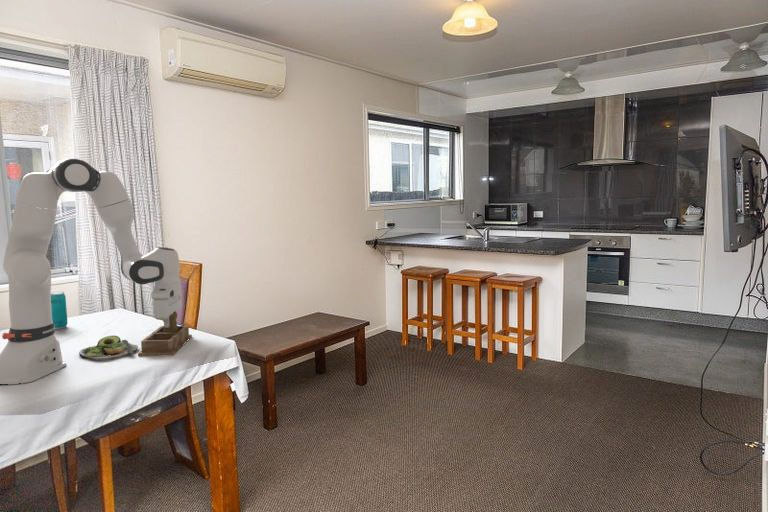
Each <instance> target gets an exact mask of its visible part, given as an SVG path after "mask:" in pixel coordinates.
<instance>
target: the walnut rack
mask: <svg viewBox="0 0 768 512" xmlns="http://www.w3.org/2000/svg"><path fill="white" fill-rule="evenodd" d="M177 327H178V332H173V333H163V330H164V325H160V326H159V327H158V328H157V329H156V330H154V331H153V332H151V333H150V334H148V336H146V337H145V338H144V339H141V340H140V345H141V350H140V351H139V352H138V353H137V356H138V357H154V356H155V357H156V356H157V357H159V356H161V357H162V355H172V356H175V355H176V354H177V352H179V351H180V349H181V348H182V347H183V346H184V345H185V344H186V343H187V342H188V341H189V340H190V338H191V337H193V335H192V334H190V331H189V327H190V326H189V325H177ZM188 339H189V340H188ZM187 340H188V341H187ZM186 341H187V342H186ZM185 342H186V343H185ZM184 343H185V344H184ZM183 344H184V345H183ZM182 345H183V346H182ZM181 346H182V347H181Z"/></svg>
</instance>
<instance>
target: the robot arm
mask: <svg viewBox="0 0 768 512" xmlns="http://www.w3.org/2000/svg"><path fill="white" fill-rule="evenodd" d="M64 192H65V193H66V192H68V193H78V192H84V193H86V194H88V195H89V197H90V198H91V200H92V201H93V204H94V208H95V209H96V211H97V213H98V215H99V217H100V219H101V221H102V223H104V225H105V226H106V228H107V229H108V231H109V232H110V233H111V235H112V237H113V240H114V242H115V245H116V247H117V250H118V252H119V255H120V261H121V262H120V270H121V275H122V276H123V277H124V278H126V279H127V280H129V281H131V282H133V283H135V284H137V285H146V284H151V283H154V285H155V286H154V289H153V291H152V292H151V299H152V308H153V315H154V319H155V320H160V321H161V320H162V322H163V326H164V327H165V328H168V327H170V322H169V316H170V315H171V314H173V312H175V311H176V312H177V311H178V310H180V309H181V308H183V298H182V297H183V295H182V288H181V287H182V286H181V285H182V284H181V277H180V269H181V268H180V267H181V266H180V257H179V254H178V251H177V250H176V249H174V248H171V247H165V246H164V247H163V246H158V247H155V248H154V249H153V250H152V251H151V252H149V253H147V254H144V255H143V254H142V253H141V252H140V251H139V250H140V249H139V248H138V245H137V243H136V240H135V237H134V235H133V232H132V226H133V225H132V224H133V222H134V220H135V217H136V216H135V211H134V207H133V203H132V202H131V201H132V200H131V198H130V196H129V194H128V192H127V190H126V188H125V186H124V184H123V183H122V180H121V179H120V177H118V175H117V174H116V173H114V172H111V171H107V170H106V171H105V170H104V171H98V170H97V169H96V168H94V167H93V166H92V165H91V164H90V163H88V162H86V161H85V160H83V159H80V158H76V157H75V158H74V157H67V158H62V159H60V160H58V161H57V162H55V163H54V164H53V165H52V166H51V167H50V168H49V169H48V170H47V171H46V172H45V173H44V172H39V171H38V172H36V171H35V172H31V173H27V174H25V175H24V176H23V177H22V180H21V182H20V185H19V186H18V191H17V193H16V198H15V204H14V208H13V214H12V219H11V220H12V221H11V226H10V230H9V231H10V232H9V235H8V239H7V244H6V246H5V247H6V249H5V251H4V252H5V253H4V258H3V260H2V268H3V271H4V273H5V274H6V275H7V278H8V310H9V318H10V319H9V320H10V327H9V331H8V332H3V333H2V335H1V338H2V339H3V340H7V343H6V345H5V346H4V348H3V349H2V350H1V352H0V384H8V385H19V383H21V384H26V383H31V382H32V383H33V382H34V381H36V380H39V379H41V378H42V377H45V376H47V375H49V374H52V373H54V372H55V371H58V370H60V369H62V368H64V367H66V366H67V362H66V361H64V360H63V356H62V351H61V350H62V349H61V345H60V341H59V340H58V339H57V337H56V336H55V333H56V329H55V326H54V322H52V312H51V298H50V297H51V293H52V268H51V267H52V266H51V262H50V261H49V259H48V258H47V253H48V249H49V246H50V243H51V239H52V237H53V234H54V229H55V224H56V222H55V221H56V216H57V210H58V202H59V199H60V197H61V195H62V194H63V193H64Z"/></svg>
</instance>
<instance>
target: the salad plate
mask: <svg viewBox="0 0 768 512" xmlns="http://www.w3.org/2000/svg"><path fill="white" fill-rule="evenodd" d="M138 347H139V346H138V345H137V344H133V343H129V341H128V340H127V339H122V340H121V338H120V336H118V335H108V336H105V337H102V338H100V339H99V340H98V341H97V344H96V345H94V346H89V347H86V348H82V349H81V350H79V352H78V353H79V356H80V357H82V358H83V359H88V360H92V359H93V360H92V361H110V359H111V360H115V358H116V359H119V358H122V357H126V356H129V355H131V354H132V355H133V353H134V352H135V351H137V349H138ZM103 355H105V356H103ZM106 355H110V356H106Z"/></svg>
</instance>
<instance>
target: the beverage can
mask: <svg viewBox="0 0 768 512" xmlns="http://www.w3.org/2000/svg"><path fill="white" fill-rule="evenodd" d="M50 298H51V312H52V322H54V326H55V330H62V329H66V328H67V326H68V323H69V322H68V313H67V312H68V311H67V299H66V295H65V292H64V291H53V292H51V297H50Z"/></svg>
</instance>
